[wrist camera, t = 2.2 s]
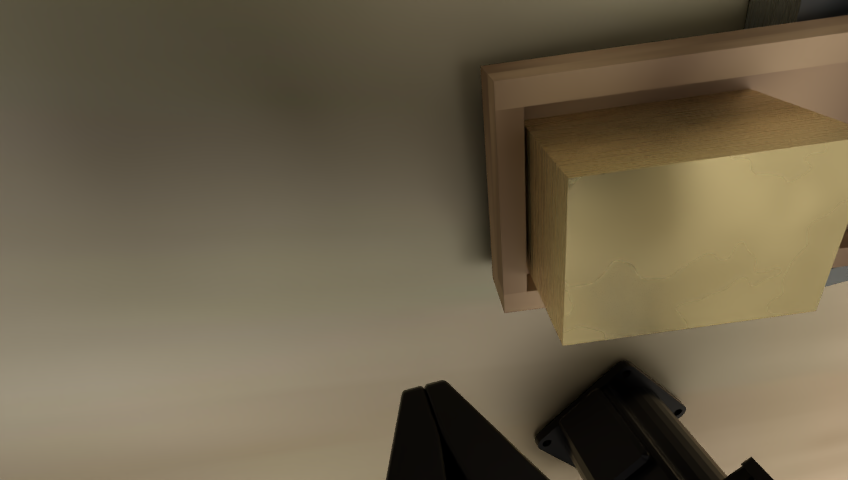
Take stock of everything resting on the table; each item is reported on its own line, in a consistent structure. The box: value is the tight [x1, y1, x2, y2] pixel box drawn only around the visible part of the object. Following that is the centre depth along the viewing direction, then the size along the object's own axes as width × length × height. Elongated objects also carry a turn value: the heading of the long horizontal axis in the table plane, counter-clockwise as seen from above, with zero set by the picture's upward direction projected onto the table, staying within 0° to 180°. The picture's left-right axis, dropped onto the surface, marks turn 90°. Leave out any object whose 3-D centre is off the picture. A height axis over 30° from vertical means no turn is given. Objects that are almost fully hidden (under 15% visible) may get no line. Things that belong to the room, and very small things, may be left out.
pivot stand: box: [744, 0, 848, 287], centre depth 18 cm, size 25×11×5 cm, turn 97°
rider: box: [524, 89, 848, 346], centre depth 14 cm, size 7×5×4 cm
